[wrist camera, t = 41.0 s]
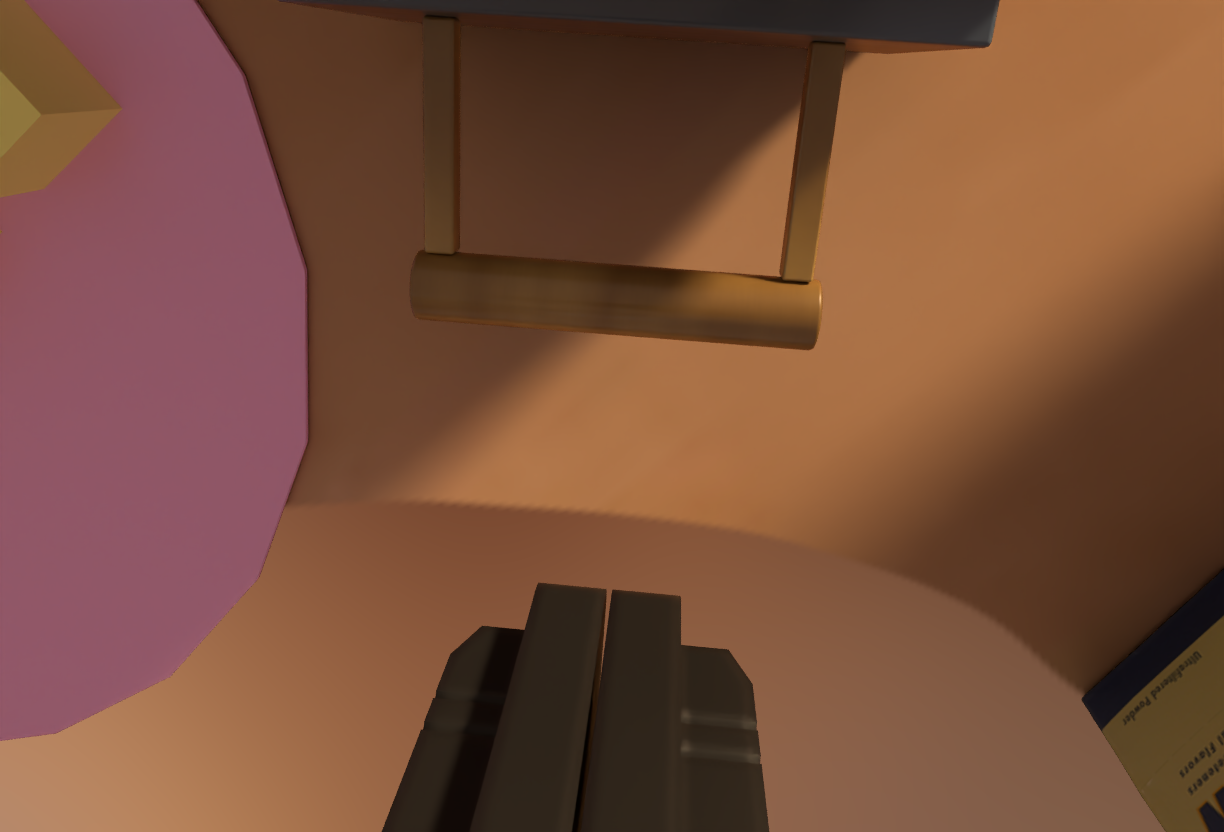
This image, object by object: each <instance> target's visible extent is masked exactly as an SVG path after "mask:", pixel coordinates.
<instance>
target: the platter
mask: <svg viewBox="0 0 1224 832" xmlns="http://www.w3.org/2000/svg"><path fill="white" fill-rule="evenodd" d="M307 443H308V324H307V268H306V265H305V261H304V258H303V255H302V252H301V249H300V246H299V243H298V240H297V236H296V233H295V230H294V227H293V224H292V221H291V218H290V214H289V211H288V208H287V205H286V202H285V199H284V196H283V192H282V189H281V186H280V183H279V180H278V177H277V174H276V170H275V167H274V164H273V161H272V158H271V155H270V152H269V148H268V145H267V142H266V139H265V136H264V133H263V130H262V127H261V123H260V120H259V117H258V114H257V111H256V108H255V105H254V101H253V98H252V95H251V92H250V89H249V86H248V83H247V79H246V76H245V74H244V73H243V71H242V69H241V68H240V66H239V65H238V63H237V62H236V60H235V59H234V57H233V56H232V54H231V53H230V51H229V49H228V48H227V46H226V45H225V43H224V42H223V40H222V39H221V37H220V36H219V34H218V33H217V31H216V29H215V28H214V26H213V25H212V23H211V22H210V20H209V19H208V17H207V16H206V14H205V13H204V11H203V9H202V8H201V6H200V5H199V3H198V2H197V0H0V741H2V740H10V739H16V738H25V737H31V736H39V735H47V734H55V733H58V732H60V731H62V730H64V729H66V728H68V727H70V726H72V725H74V724H76V723H78V722H80V721H82V720H84V719H86V718H88V717H90V716H92V715H94V714H96V713H98V712H100V711H102V710H104V709H106V708H108V707H110V706H112V705H114V704H116V703H118V702H120V701H122V700H124V699H126V698H128V697H130V696H132V695H134V694H136V693H138V692H140V691H142V690H144V689H146V688H148V687H150V686H152V685H154V684H156V683H158V682H160V681H162V680H164V679H166V678H168V677H170V676H171V675H172V674H173V673H174V672H175V671H176V670H177V669H178V667H179V666H180V665H181V664H182V663H183V662H184V661H185V660H186V658H187V657H188V656H189V655H190V654H191V653H192V652H193V651H194V650H195V648H196V647H197V646H198V645H199V644H200V643H201V642H202V641H203V639H204V638H205V637H206V636H207V635H208V634H209V633H210V632H211V631H212V630H213V628H214V627H215V626H216V625H217V624H218V623H219V622H220V621H221V619H222V618H223V617H224V616H225V615H226V614H227V612H229V610H230V609H231V608H232V607H233V606H234V605H235V604H236V603H237V602H238V601H239V599H240V598H241V597H242V596H243V595H244V594H245V593H246V592H247V591H248V589H249V588H250V587H251V586H252V585H253V584H254V583H255V582H256V580H257V579H258V578H259V577H260V574H261V571H262V568H263V566H264V563H265V560H266V557H267V554H268V552H269V549H270V546H271V543H272V541H273V538H274V535H275V532H276V529H277V527H278V524H279V521H280V518H281V515H282V513H283V510H284V507H285V504H286V502H287V499H288V496H289V493H290V490H291V488H292V485H293V482H294V479H295V476H296V474H297V471H298V468H299V465H300V463H301V460H302V457H303V454H304V451H305V449H306V446H307Z"/></svg>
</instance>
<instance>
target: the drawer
mask: <svg viewBox="0 0 1224 832" xmlns="http://www.w3.org/2000/svg"><path fill="white" fill-rule="evenodd" d="M278 1H280V2H286V3H292V4H298V5H304V6H310V7H317V8H323V9H329V10H335V11H341V12H347V13H353V14H359V15H365V16H371V17H377V18H383V19H389V20H395V21H402V22H415V23H422V35H423V141H424V247H425V250H420V251H418V252H417V254H416V256H415V258H414V261H413V264H412V269H411V275H410V303H411V308H412V312H413V314H414V316H415V317H416V318H417V319H420V320H433V321H445V322H458V323H470V324H483V325H496V326H508V327H521V328H534V329H546V330H559V331H571V332H584V333H597V334H609V335H622V336H635V337H647V338H660V339H673V340H685V341H698V342H710V343H723V344H736V345H748V346H761V347H774V348H786V349H799V350H811V349H813V348H814V346H815V344H816V342H817V339H818V335H819V330H820V325H821V317H822V304H823V295H822V287H821V283H820V281H818V280H816V279H813V276H814V269H815V262H816V255H817V248H818V241H819V234H820V227H821V220H822V213H823V206H824V199H825V192H826V185H827V178H828V171H829V164H830V157H831V150H832V143H833V136H834V129H835V122H836V115H837V108H838V101H839V94H840V87H841V80H842V73H843V66H844V59H845V52H846V51H852V52H867V53H882V54H893V53H909V52H925V51H941V50H957V49H973V48H985V47H988V46H989V45H990V43H991V42H992V37H993V32H994V27H995V22H996V17H997V11H998V6H999V1H1000V0H278ZM461 26H475V27H490V28H505V29H520V30H535V31H550V32H565V33H581V34H596V35H611V36H626V37H641V38H656V39H671V40H686V41H701V42H716V43H731V44H746V45H761V46H777V47H792V48H807V49H808V54H807V62H806V69H805V77H804V85H803V93H802V100H801V108H800V116H799V124H798V131H797V139H796V147H795V155H794V162H793V170H792V178H791V186H790V193H789V201H788V209H787V217H786V224H785V232H784V240H783V248H782V255H781V263H780V271H779V272H780V275H781V277H776V276H763V275H750V274H737V273H724V272H711V271H697V270H684V269H671V268H658V267H645V266H632V265H619V264H605V263H592V262H579V261H566V260H553V259H540V258H527V257H513V256H500V255H487V254H474V253H461V252H456V251H458V250H459V248H460V73H461Z"/></svg>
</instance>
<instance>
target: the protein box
mask: <svg viewBox="0 0 1224 832" xmlns="http://www.w3.org/2000/svg"><path fill="white" fill-rule="evenodd" d="M1082 702H1083V703H1084V705H1085V706H1086V708H1087V709H1088V710H1089V712H1090V714H1091V716H1092V717H1093V719H1094V720H1095V722H1096V724H1097V725H1098V727H1099V728H1100V730H1101V731H1102V733H1103V734H1104V736H1105V738H1106V739H1107V741H1108V742H1109V744H1110V745H1111V747H1112V749H1113V750H1114V752H1115V753H1116V755H1117V756H1118V758H1119V760H1120V761H1121V763H1122V765H1123V766H1124V768H1125V770H1126V771H1127V773H1128V775H1129V776H1130V778H1131V780H1132V781H1133V783H1134V784H1135V786H1136V788H1137V789H1138V791H1139V793H1140V794H1141V796H1142V798H1143V799H1144V800H1145V802H1146V803H1147V805H1148V806H1149V808H1150V809H1151V811H1152V812H1153V813H1154V815H1155V816H1156V818H1157V819H1158V821H1159V822H1160V824H1161V825H1162V827H1163V828H1164V830H1165V831H1166V832H1224V569H1223V570H1222V571H1221V572H1220V573H1219V574H1218V575H1217V576H1216V577H1215V578H1214V579H1213V580H1211V581H1210V582H1209V583H1208V584H1206V585H1205V586H1204V587H1203V588H1202V589H1201V590H1200V591H1199V592H1198V593H1197V594H1196V595H1195V596H1194V597H1193V598H1191V599H1190V600H1189V601H1188V602H1187V603H1186V604H1185V605H1184V606H1182V607H1181V608H1180V609H1179V610H1178V611H1177V612H1176V613H1175V614H1174V615H1173V616H1172V617H1171V618H1169V619H1168V620H1167V621H1166V622H1165V623H1164V624H1163V625H1162V626H1160V627H1159V628H1158V629H1157V630H1156V631H1155V632H1154V633H1153V634H1152V635H1151V636H1150V637H1149V638H1148V639H1147V640H1146V641H1145V642H1144V643H1143V644H1141V645H1140V646H1139V647H1138V648H1137V649H1136V650H1135V651H1134V652H1133V653H1131V654H1130V655H1129V656H1128V657H1127V658H1126V659H1125V660H1124V661H1122V662H1121V663H1120V664H1119V665H1118V666H1117V667H1116V668H1115V669H1114V670H1112V671H1111V672H1110V673H1109V674H1108V675H1107V676H1106V677H1105V678H1104V679H1102V680H1101V681H1100V682H1099V683H1098V684H1097V685H1096V686H1095V687H1094V688H1092V689H1091V690H1090V691H1089V692H1088V693H1087V694H1085V695H1084V697H1083V698H1082Z"/></svg>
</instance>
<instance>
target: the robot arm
mask: <svg viewBox="0 0 1224 832" xmlns="http://www.w3.org/2000/svg"><path fill="white" fill-rule="evenodd" d="M605 609H606V589H598V588H589V587H579V586H568V585H558V584H547V583H538V585H537V587H536V590H535V594H534V598H533V601H532V605H531V609H530V612H529V616H528V620H527V623H526V627H525V630H520V629H509V628H498V627H489V626H482V627H480V628H479V629H478V630H477V631H476V632H475V633H474V634H472V635H471V636H470V637H469V638H468V639H467V640H466V641H465V642H464V643H462V644H461V645H460V646H459V647H458V648H457V649H456V650H455V651H454V652H452V653H451V654H450V657H449V659H448V662H447V664H446V667H445V669H444V672H443V675H442V677H441V680H440V682H439V685H438V688H437V690H436V697H435V698H433V700H432V703H431V706H430V708H429V711H428V713H427V716H426V719H425V721H424V728H423V730H421V731H420V734H419V737H418V739H417V742H416V745H415V747H414V750H413V752H412V755H411V757H410V760H409V763H408V765H407V768H406V771H405V773H404V776H403V778H402V781H401V783H400V786H399V789H398V791H397V794H396V796H395V799H394V801H393V804H392V807H391V809H390V812H389V814H388V817H387V820H386V822H385V825H384V827H383V830H382V832H769V826H768V817H767V809H766V799H765V791H764V782H763V774H762V765H761V764H760V756H761V755H760V746H759V738H758V731H757V730H756V725H757V720H756V711H755V702H754V693H753V685H752V683H751V681H750V680H749V679H748V677H747V676H746V674H745V673H744V671H743V670H742V669H741V667H740V666H739V664H738V663H737V661H736V660H735V659H734V657H733V656H732V654H731V653H730V651H729V650H727V649H716V648H706V647H695V646H685V645H681V597H680V596H675V595H665V594H654V593H644V592H633V591H622V590H612V595H611V603H610V611H609V619H608V627H607V634H606V641H605V649H604V657H603V665H602V672H601V663H602V650H603V637H604V623H605ZM600 676H601V680H600Z"/></svg>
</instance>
